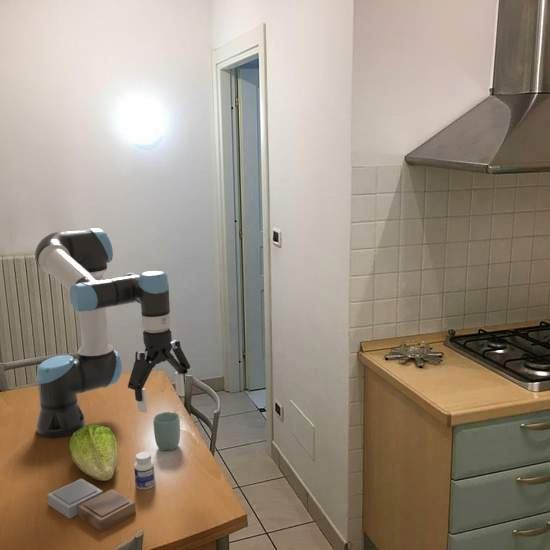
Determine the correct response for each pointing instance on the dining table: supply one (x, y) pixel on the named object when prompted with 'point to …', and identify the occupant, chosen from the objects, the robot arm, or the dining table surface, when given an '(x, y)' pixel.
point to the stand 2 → (106, 510)
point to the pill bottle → (144, 471)
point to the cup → (167, 430)
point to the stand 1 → (72, 497)
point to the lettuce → (94, 451)
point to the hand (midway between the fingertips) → (162, 403)
